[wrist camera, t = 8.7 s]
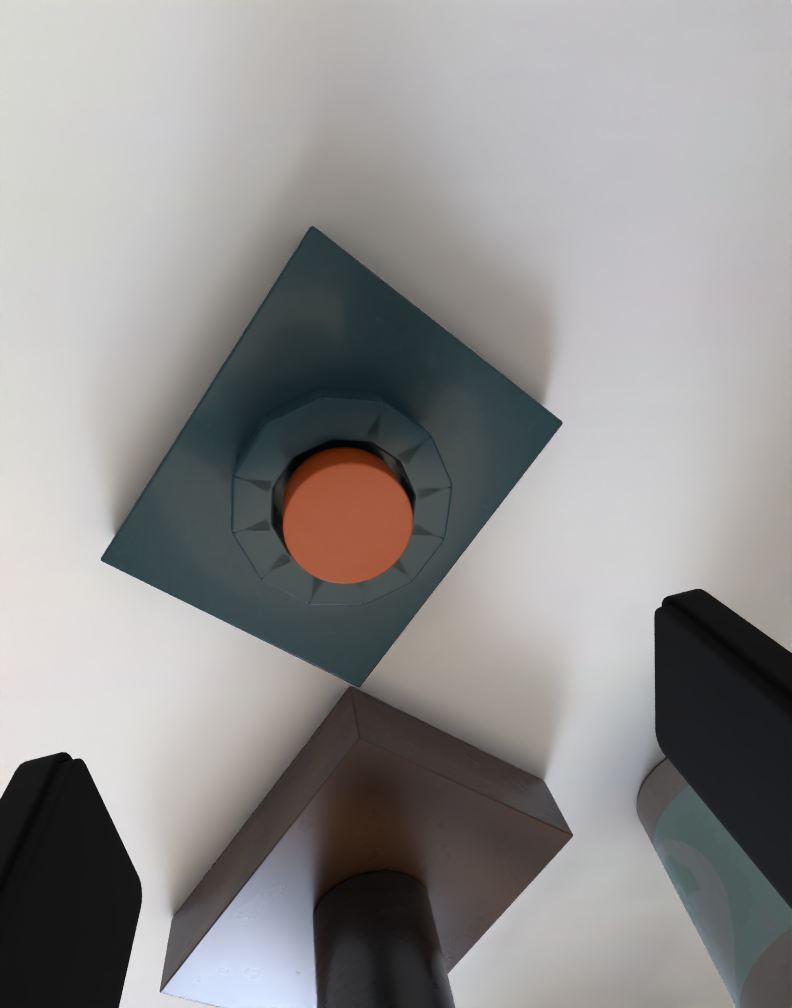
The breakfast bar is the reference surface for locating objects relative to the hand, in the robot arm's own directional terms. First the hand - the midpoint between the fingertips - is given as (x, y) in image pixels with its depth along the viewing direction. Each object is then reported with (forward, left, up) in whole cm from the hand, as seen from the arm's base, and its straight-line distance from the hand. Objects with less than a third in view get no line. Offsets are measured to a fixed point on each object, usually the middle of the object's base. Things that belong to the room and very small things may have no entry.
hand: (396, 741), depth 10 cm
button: (-1, 0, -9) cm, 9 cm away
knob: (+13, +11, -9) cm, 20 cm away
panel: (+13, +11, -13) cm, 21 cm away
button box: (-1, 0, -13) cm, 13 cm away
